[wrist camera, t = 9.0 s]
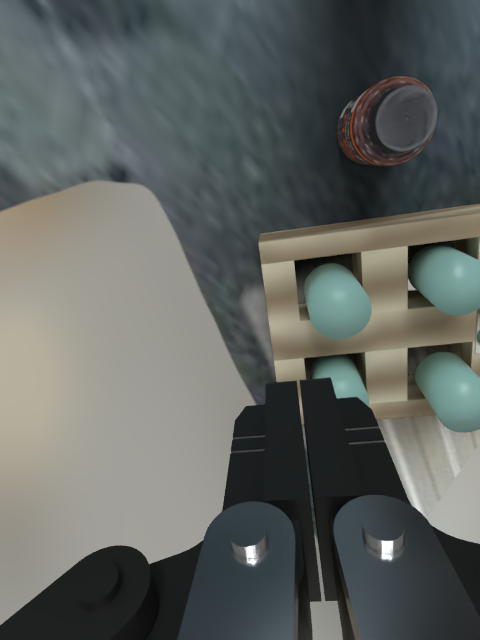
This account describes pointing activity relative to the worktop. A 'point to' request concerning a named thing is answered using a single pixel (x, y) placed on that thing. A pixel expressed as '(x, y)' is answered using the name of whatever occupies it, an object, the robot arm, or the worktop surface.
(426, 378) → the button
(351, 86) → the worktop surface
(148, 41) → the worktop surface
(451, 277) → the button
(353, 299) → the button
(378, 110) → the supplement bottle
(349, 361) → the button
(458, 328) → the console
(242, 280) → the worktop surface
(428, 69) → the worktop surface
